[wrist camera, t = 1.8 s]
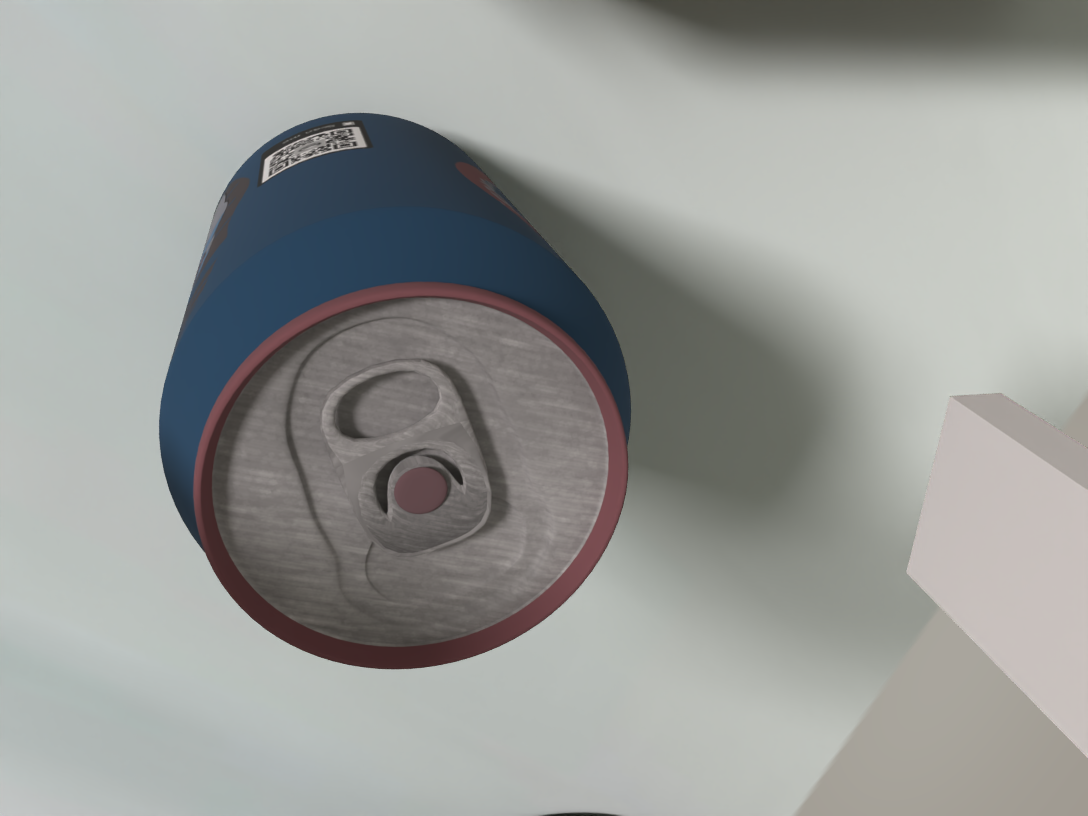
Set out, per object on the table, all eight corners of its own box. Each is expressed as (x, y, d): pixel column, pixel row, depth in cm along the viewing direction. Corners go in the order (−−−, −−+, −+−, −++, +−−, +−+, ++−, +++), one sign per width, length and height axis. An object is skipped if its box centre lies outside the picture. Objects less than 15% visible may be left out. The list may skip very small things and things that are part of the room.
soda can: (535, 332, 25) (712, 601, 15) (281, 422, 25) (273, 772, 14) (453, 64, 22) (605, 159, 11) (159, 161, 21) (28, 357, 11)
